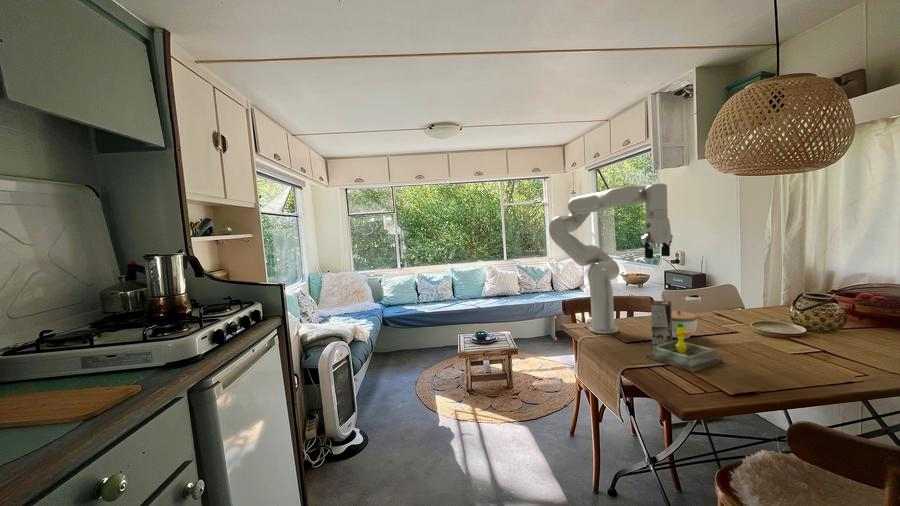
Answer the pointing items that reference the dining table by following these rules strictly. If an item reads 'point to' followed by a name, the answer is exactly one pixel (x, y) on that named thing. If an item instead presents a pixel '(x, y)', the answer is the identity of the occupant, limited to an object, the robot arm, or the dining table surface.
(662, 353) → the tray
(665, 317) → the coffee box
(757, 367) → the dining table surface
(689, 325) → the lidded bowl
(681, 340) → the toy figure
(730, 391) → the dining table surface
